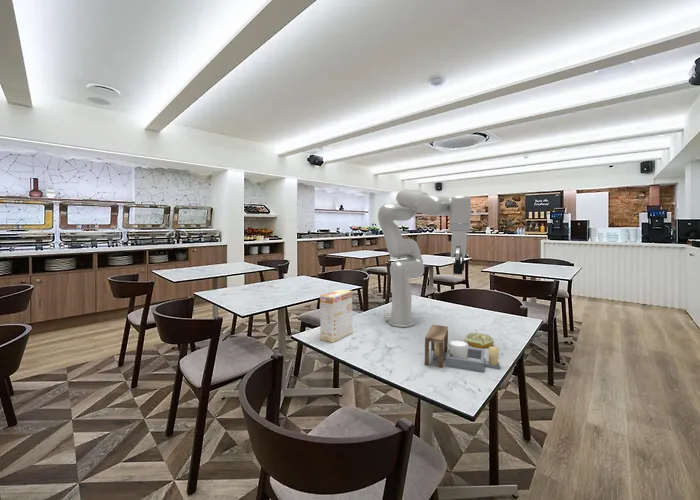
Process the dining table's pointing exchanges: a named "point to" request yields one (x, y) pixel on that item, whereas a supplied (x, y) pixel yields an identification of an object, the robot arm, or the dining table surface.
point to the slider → (470, 363)
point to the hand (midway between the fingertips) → (458, 272)
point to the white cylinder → (458, 349)
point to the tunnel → (439, 336)
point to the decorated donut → (479, 340)
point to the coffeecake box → (336, 315)
